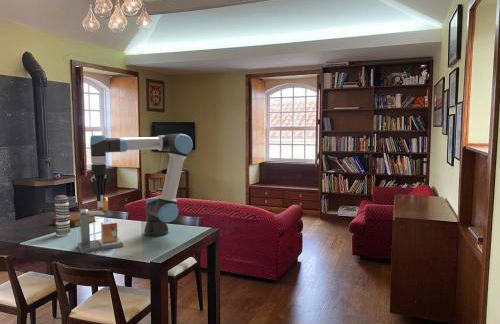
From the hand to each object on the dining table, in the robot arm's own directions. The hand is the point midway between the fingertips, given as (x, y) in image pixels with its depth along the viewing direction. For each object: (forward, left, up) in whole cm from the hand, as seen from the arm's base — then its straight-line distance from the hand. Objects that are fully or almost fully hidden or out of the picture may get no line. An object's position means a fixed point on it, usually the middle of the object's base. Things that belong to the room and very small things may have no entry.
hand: (100, 206), depth 214 cm
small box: (-5, -7, -22) cm, 23 cm away
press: (0, -8, -24) cm, 26 cm away
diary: (+5, -76, -25) cm, 80 cm away
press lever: (+2, -8, -5) cm, 9 cm away
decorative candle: (+15, -47, -25) cm, 55 cm away
